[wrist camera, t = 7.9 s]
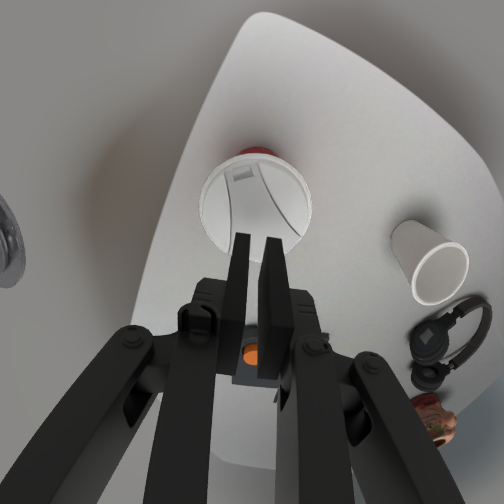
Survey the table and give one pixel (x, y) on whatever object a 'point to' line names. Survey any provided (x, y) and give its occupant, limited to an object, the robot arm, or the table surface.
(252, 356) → the button
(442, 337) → the headphones
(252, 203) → the coffee cup
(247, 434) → the table surface
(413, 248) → the dixie cup
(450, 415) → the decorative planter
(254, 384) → the scale
